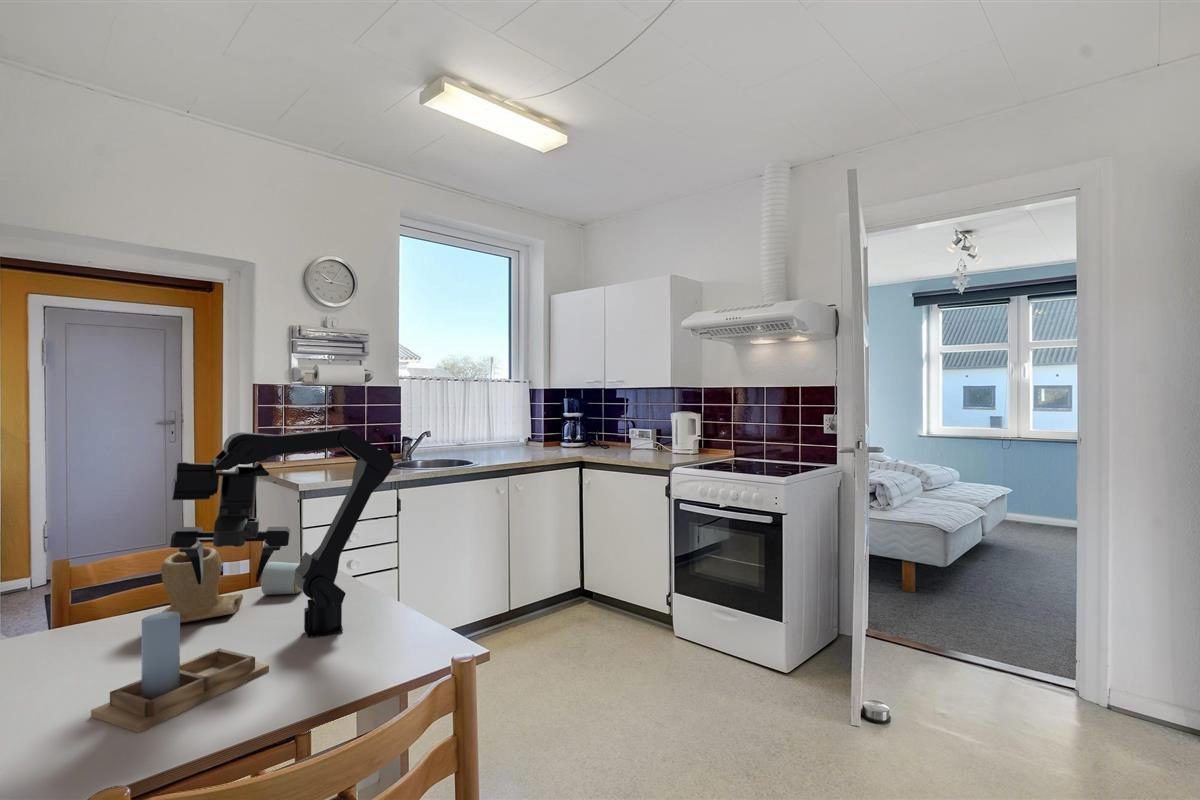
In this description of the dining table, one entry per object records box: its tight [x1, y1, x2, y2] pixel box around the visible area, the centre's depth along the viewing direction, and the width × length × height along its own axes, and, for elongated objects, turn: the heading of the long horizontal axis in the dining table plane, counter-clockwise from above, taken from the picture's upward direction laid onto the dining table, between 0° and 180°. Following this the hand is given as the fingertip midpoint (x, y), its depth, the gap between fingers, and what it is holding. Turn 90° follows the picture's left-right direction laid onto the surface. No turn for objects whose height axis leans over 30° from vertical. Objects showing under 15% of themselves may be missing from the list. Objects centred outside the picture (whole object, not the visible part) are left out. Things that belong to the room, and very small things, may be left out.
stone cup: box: [160, 546, 244, 624], centre depth 129 cm, size 15×12×15 cm
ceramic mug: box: [260, 561, 301, 596], centre depth 147 cm, size 11×8×8 cm
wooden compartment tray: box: [90, 648, 270, 733], centre depth 97 cm, size 21×11×3 cm, turn 158°
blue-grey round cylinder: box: [140, 611, 181, 700], centre depth 93 cm, size 5×5×12 cm
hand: (229, 583), depth 112 cm, fingers open, 9 cm apart
